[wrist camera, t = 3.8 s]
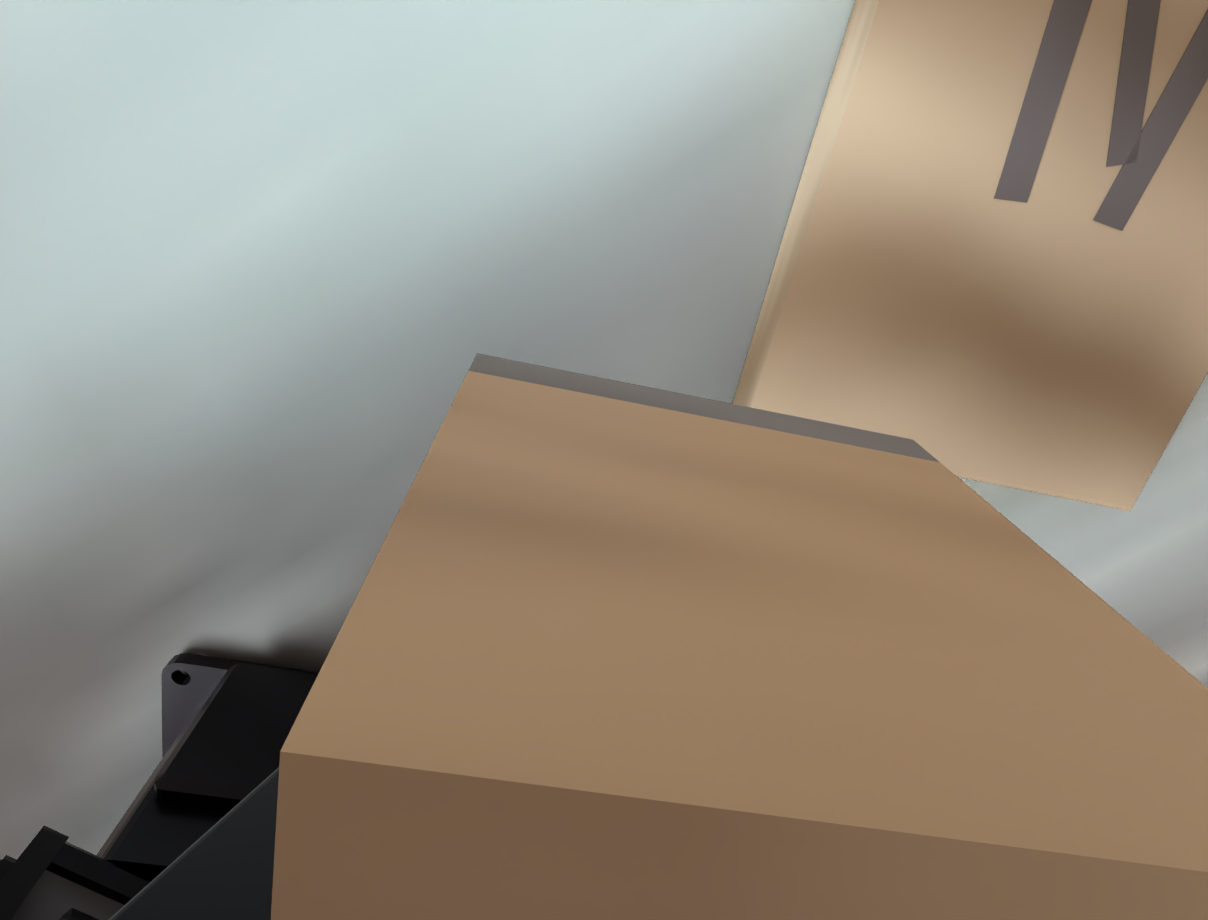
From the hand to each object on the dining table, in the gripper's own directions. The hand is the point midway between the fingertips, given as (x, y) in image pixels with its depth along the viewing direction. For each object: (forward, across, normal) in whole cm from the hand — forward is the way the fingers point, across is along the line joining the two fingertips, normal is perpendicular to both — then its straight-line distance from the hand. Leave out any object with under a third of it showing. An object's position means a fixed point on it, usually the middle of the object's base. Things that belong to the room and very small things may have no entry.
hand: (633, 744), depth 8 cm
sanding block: (+1, 0, 0) cm, 1 cm away
